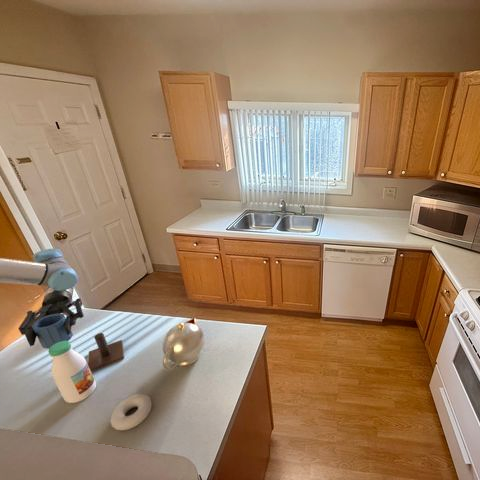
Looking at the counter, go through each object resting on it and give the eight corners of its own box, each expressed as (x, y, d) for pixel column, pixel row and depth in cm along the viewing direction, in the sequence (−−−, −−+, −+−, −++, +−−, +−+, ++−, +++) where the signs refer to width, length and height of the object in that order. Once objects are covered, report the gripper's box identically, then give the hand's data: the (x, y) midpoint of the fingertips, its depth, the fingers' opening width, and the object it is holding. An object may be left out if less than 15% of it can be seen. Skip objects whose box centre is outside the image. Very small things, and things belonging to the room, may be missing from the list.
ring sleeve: (37, 351, 79) (26, 331, 76) (49, 334, 85) (40, 316, 82) (66, 345, 82) (57, 326, 79) (76, 329, 88) (68, 311, 85)
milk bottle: (70, 409, 77) (45, 361, 69) (61, 395, 80) (36, 348, 72) (101, 389, 83) (81, 343, 75) (91, 377, 87) (71, 332, 79)
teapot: (183, 340, 103) (176, 307, 97) (214, 345, 102) (209, 312, 95) (150, 379, 87) (139, 343, 80) (187, 386, 86) (178, 350, 79)
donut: (122, 441, 70) (159, 410, 78) (118, 433, 69) (156, 403, 76) (106, 419, 75) (142, 392, 83) (102, 412, 73) (140, 385, 81)
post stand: (88, 372, 88) (79, 351, 84) (89, 353, 95) (81, 333, 91) (124, 358, 94) (117, 338, 90) (122, 341, 101) (115, 322, 97)
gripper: (96, 297, 102) (96, 331, 85) (22, 317, 90) (5, 361, 74) (90, 281, 99) (89, 314, 82) (13, 300, 87) (-7, 341, 71)
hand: (49, 336), depth 78 cm, fingers closed on ring sleeve, 7 cm apart
